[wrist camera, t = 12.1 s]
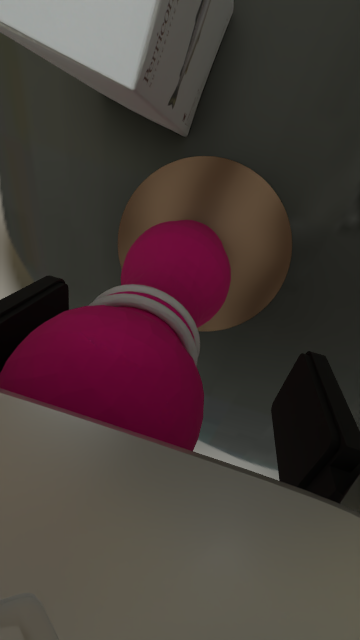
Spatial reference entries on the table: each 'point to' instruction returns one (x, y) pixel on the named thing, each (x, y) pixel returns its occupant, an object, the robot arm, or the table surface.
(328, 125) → the table surface
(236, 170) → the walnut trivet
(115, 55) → the supplement box
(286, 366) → the table surface
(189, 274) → the pepper mill
